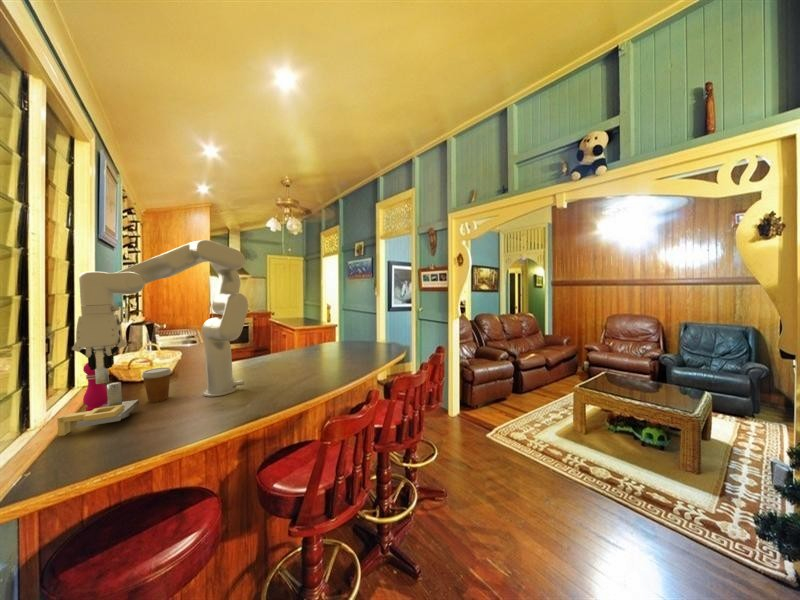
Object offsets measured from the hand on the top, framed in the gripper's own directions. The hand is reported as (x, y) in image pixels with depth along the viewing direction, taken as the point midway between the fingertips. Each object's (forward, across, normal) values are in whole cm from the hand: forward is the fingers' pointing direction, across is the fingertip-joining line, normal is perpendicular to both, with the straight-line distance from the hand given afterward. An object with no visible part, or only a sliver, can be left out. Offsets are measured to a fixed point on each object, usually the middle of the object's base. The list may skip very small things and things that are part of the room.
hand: (101, 367), depth 100 cm
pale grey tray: (+19, 0, -5) cm, 20 cm away
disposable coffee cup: (+19, -8, -24) cm, 32 cm away
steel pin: (+5, 0, 0) cm, 5 cm away
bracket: (+19, +3, 0) cm, 19 cm away
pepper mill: (+19, +10, -22) cm, 31 cm away
